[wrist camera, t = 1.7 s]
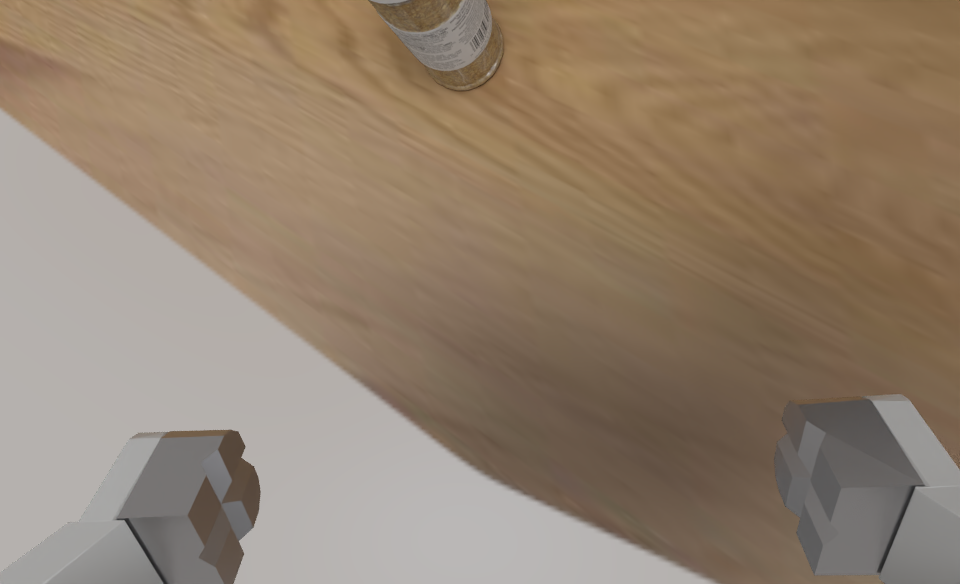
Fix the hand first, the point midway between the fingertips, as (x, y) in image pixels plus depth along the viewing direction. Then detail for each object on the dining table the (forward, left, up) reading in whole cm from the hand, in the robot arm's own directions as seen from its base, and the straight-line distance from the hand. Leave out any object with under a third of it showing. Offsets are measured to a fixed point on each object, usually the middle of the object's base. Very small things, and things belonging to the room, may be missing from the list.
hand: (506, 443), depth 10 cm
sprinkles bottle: (-10, -14, -26) cm, 31 cm away
